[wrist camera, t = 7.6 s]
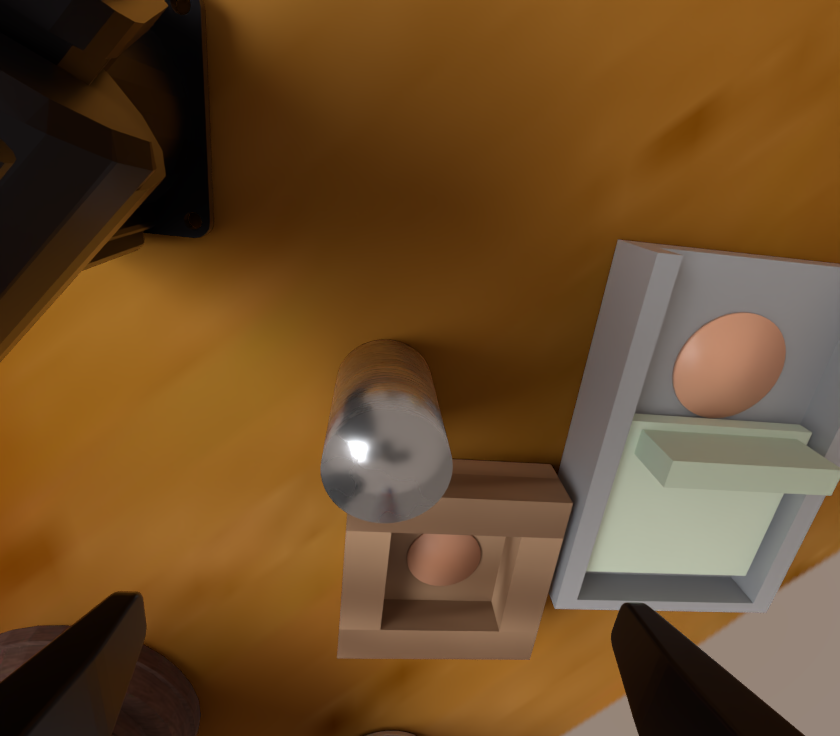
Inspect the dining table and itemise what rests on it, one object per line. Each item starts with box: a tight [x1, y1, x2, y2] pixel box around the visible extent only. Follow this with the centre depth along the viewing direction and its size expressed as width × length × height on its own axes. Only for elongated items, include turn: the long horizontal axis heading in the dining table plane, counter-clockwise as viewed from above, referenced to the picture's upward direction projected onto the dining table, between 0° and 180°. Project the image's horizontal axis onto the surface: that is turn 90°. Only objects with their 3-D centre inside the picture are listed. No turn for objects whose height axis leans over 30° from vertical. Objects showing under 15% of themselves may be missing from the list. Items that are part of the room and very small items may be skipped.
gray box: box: [549, 240, 840, 613], centre depth 19 cm, size 14×9×3 cm, turn 174°
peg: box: [321, 340, 453, 523], centre depth 16 cm, size 4×4×6 cm
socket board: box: [337, 459, 573, 660], centre depth 20 cm, size 8×8×2 cm
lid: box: [586, 414, 840, 576], centre depth 18 cm, size 7×7×3 cm
